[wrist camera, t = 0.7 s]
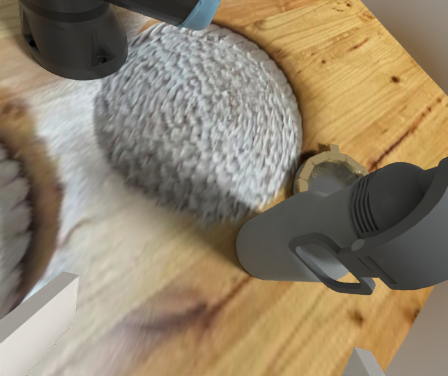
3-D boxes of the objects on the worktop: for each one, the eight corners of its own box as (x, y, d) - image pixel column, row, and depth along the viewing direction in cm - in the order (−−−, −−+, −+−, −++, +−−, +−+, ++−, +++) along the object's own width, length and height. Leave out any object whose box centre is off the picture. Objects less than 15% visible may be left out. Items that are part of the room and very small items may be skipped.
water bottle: (265, 296, 36) (531, 345, 11) (219, 250, 37) (374, 194, 11) (300, 246, 41) (549, 199, 15) (259, 205, 41) (435, 93, 16)
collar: (288, 141, 47) (294, 135, 45) (364, 155, 52) (372, 151, 50) (296, 255, 40) (304, 254, 38) (383, 261, 44) (394, 260, 42)
